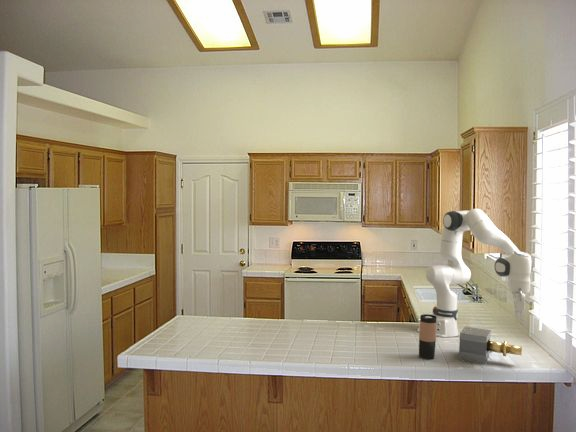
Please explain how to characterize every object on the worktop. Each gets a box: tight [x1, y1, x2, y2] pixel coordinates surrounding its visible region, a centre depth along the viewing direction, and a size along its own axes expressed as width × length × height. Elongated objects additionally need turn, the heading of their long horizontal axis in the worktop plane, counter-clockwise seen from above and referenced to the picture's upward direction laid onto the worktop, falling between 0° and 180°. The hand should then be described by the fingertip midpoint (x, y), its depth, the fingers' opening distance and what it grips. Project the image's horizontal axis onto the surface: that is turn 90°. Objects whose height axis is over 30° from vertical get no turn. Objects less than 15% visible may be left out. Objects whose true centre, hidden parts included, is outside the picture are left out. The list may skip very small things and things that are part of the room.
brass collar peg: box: [487, 340, 523, 357], centre depth 250 cm, size 15×7×7 cm, turn 62°
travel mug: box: [418, 313, 437, 361], centre depth 254 cm, size 8×8×20 cm
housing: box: [458, 325, 492, 365], centre depth 256 cm, size 12×14×13 cm
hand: (518, 316), depth 246 cm, fingers open, 8 cm apart
